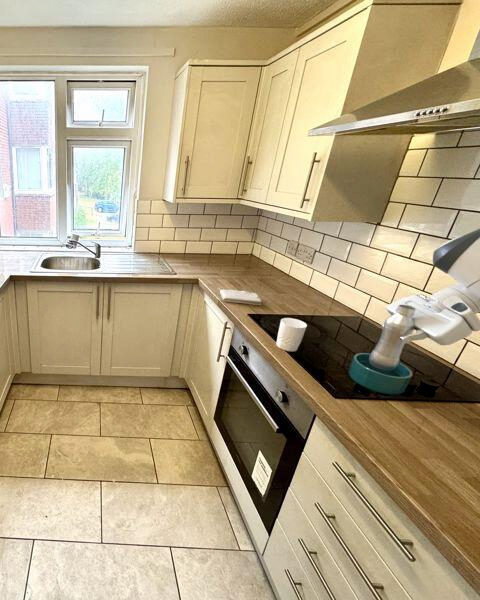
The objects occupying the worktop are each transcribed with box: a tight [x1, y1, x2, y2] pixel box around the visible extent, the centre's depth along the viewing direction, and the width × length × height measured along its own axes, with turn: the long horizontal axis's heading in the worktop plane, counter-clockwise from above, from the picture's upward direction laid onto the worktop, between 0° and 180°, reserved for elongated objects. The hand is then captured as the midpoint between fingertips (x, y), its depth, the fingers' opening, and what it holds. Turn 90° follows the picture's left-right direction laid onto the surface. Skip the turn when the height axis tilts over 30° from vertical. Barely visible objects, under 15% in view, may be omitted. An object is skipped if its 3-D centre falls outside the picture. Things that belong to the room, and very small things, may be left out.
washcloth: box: [219, 289, 263, 306], centre depth 158 cm, size 12×18×3 cm, turn 75°
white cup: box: [275, 317, 308, 352], centre depth 114 cm, size 8×8×10 cm
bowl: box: [347, 352, 414, 395], centre depth 96 cm, size 13×13×6 cm
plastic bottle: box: [369, 305, 416, 371], centre depth 92 cm, size 6×7×20 cm
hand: (392, 334), depth 91 cm, fingers closed on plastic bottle, 6 cm apart
